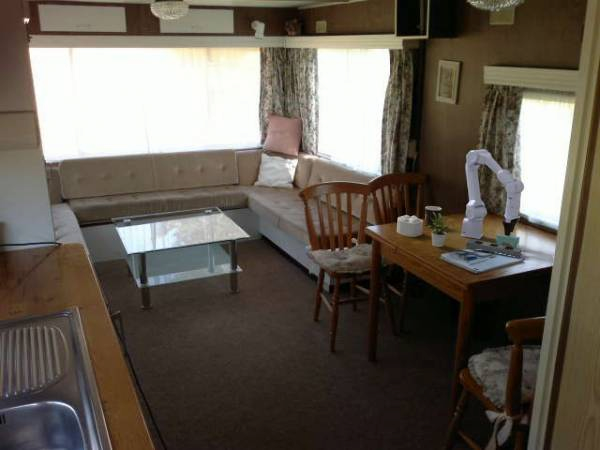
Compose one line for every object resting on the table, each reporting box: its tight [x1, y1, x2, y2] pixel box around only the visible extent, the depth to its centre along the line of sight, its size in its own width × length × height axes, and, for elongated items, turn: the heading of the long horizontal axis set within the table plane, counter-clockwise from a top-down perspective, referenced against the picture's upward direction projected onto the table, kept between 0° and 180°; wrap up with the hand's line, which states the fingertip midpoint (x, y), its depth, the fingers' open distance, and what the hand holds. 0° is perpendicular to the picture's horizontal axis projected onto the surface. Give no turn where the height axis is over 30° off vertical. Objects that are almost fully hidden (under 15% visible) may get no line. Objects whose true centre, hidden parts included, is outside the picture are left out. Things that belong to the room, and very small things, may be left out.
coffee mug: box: [424, 205, 442, 229], centre depth 295 cm, size 12×9×10 cm
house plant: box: [427, 212, 454, 248], centre depth 264 cm, size 14×14×16 cm
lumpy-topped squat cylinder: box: [396, 214, 424, 238], centre depth 283 cm, size 10×13×9 cm
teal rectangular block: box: [495, 233, 521, 248], centre depth 265 cm, size 10×3×5 cm, turn 59°
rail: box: [465, 238, 523, 259], centre depth 258 cm, size 24×6×3 cm, turn 59°
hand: (508, 233), depth 264 cm, fingers open, 7 cm apart
